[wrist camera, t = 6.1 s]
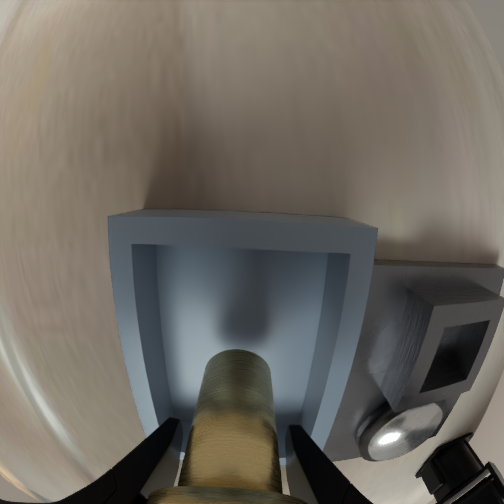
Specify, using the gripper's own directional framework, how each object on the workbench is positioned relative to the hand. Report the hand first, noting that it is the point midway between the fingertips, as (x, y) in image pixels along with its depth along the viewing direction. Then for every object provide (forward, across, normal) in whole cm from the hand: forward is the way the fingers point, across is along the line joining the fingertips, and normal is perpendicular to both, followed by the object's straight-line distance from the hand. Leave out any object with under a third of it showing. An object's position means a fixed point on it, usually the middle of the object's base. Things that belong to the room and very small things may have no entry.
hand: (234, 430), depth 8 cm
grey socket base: (+6, -12, +3) cm, 14 cm away
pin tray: (+6, 0, 0) cm, 6 cm away
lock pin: (+3, 0, 0) cm, 3 cm away
